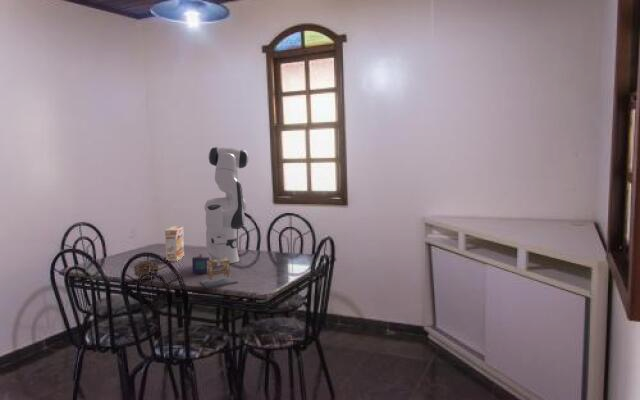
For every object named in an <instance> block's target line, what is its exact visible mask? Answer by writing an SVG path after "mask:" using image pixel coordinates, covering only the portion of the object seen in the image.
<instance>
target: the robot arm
mask: <svg viewBox="0 0 640 400" xmlns="http://www.w3.org/2000/svg"><path fill="white" fill-rule="evenodd" d="M207 157H208V161H209V164H210V165H211V166H215V171H214V181H215V183H216V185H217V187H218V189H219V190H220V191H221V192H223V193H225V196H224V197H214V198H211V199H207V201H206V202H205V204H204V210H205V211H204V212H205V226H206V231H205V234H206V235H205V238H206V239H205V240H206V242H205V243H206V244H205V245H206V250H205V251H206V257H209V260H216V259H217V262H216V265H217V266H216V267H220V265H221V264H220V262H221V259H225V258H226V259H228V260H229V263H230V264H235V263H238V262H240V257H239V254H238V238H237V230H241V228H243V227H244V225H245V224H246V215H245V212H246V209H247V201H246V200H245V198H244V196H243V188H242V184H241V182H240V181H239V180H238V178H239V177H238V175H239V169H244V168H245V167H246V166H247V165H248V162H249V155H248V152H247V151H246V150H244V149H242V148H241V149H240V148H239V149H238V148H234V147H233V148H232V147H218V146H214V147H212V148H210V151H209V152H208V156H207ZM221 266H222V265H221Z"/></svg>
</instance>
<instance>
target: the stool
mask: <svg viewBox="0 0 640 400" xmlns="http://www.w3.org/2000/svg"><path fill="white" fill-rule="evenodd" d="M216 262H217V259H216V260H209V261H207V273H206V274H207V275H206V276H207V277H206V279H207V280H209V279H210V281H212V280H213V279H214V276H216V275H222V274H223V277H227V278H230V277H231V272H230V271H231V269H230V266H231V265H230V264H231V263H229V260H228V259H226V258H225V259H221V262H220V264H221V265H220V266H223V269H218V270H217V269H216V270H214V269H213V268H214V267H218V266H217V265H216ZM220 266H219V267H220Z"/></svg>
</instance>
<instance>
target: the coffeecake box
mask: <svg viewBox="0 0 640 400" xmlns="http://www.w3.org/2000/svg"><path fill="white" fill-rule="evenodd" d="M164 233H165V234H164V235H165V239H164V240H165V261H166V260H168V261H170V262H169V263H171V262H172V263H173V262H176V261H177V262H178V260H179V261H180V260H181V259H183V258H184V257H185V240H184V238H185V237H184V226H183V225H182V226H180V225H179V226H178V225H176V226H175V225H174V226H173V225H172V226H170V227H169V228H166V229H165V230H164ZM183 256H184V257H183ZM182 257H183V258H182ZM177 262H176V263H177Z"/></svg>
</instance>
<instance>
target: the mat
mask: <svg viewBox="0 0 640 400" xmlns="http://www.w3.org/2000/svg"><path fill="white" fill-rule="evenodd" d="M199 283H200V284H201V285H202V286H204V287H205V288H206V289H207V288H215V287H218V286H219V287H221V286H225V285H227V286H228V285H233V284H237V283H238V280H236V279H235V278H233V277H231V276H230V278H227V276H222V277H217V278H213V280H212V281H210V278H209V279H203V280H199Z"/></svg>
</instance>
